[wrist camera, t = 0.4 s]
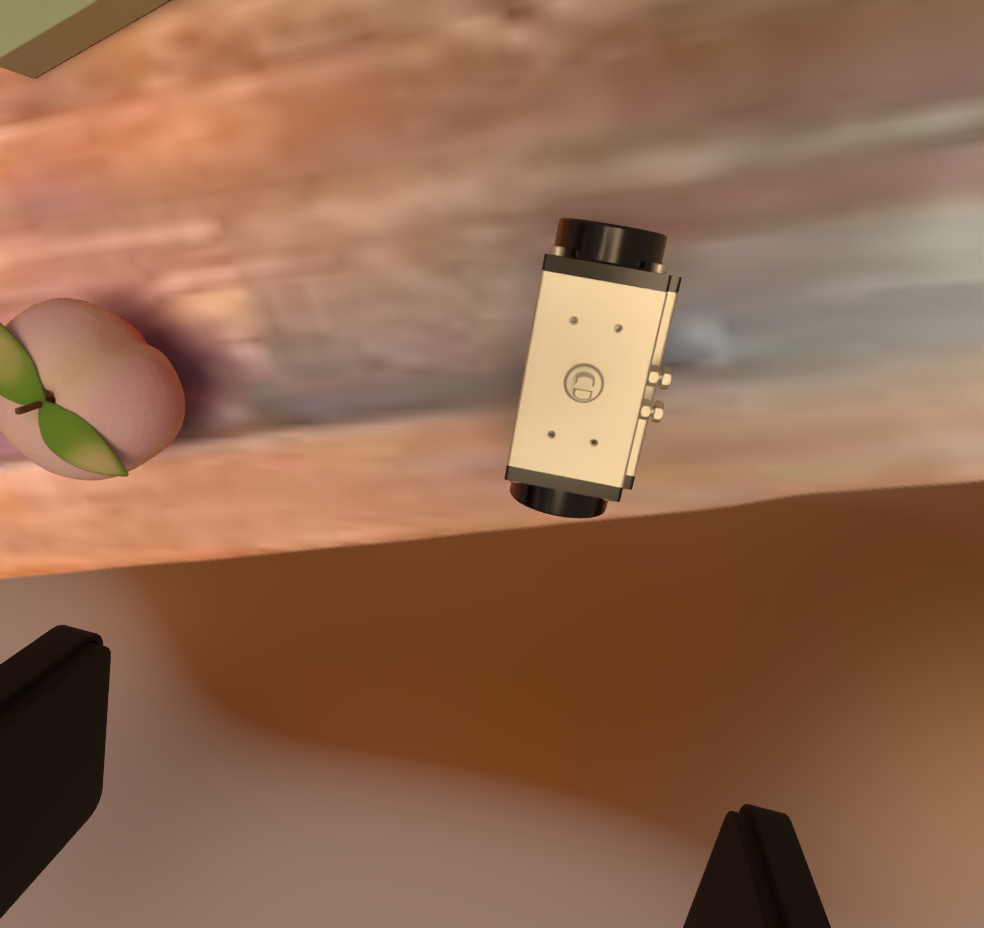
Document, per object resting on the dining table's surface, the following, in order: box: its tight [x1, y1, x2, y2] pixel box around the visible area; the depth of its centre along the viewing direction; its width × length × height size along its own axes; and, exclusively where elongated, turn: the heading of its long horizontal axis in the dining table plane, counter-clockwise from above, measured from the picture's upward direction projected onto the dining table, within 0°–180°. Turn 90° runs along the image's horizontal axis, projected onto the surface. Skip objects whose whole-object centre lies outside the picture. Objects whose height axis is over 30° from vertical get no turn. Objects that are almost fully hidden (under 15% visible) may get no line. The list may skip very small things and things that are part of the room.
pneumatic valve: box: [505, 218, 682, 518], centre depth 32 cm, size 6×12×12 cm, turn 171°
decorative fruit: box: [0, 298, 185, 480], centre depth 36 cm, size 9×8×10 cm
